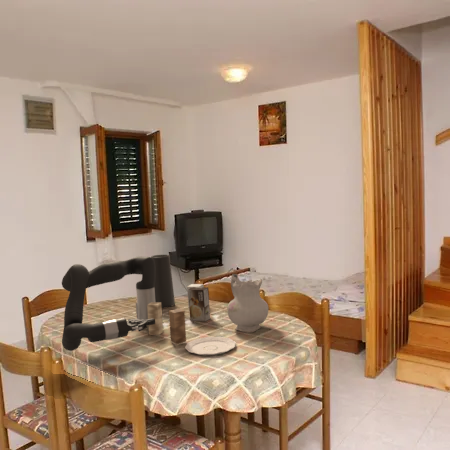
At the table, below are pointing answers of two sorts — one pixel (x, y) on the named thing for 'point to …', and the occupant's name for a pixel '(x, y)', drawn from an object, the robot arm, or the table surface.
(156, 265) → the vase
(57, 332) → the table surface
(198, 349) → the plate
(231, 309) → the ceramic pitcher
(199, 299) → the coffee box
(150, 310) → the birch block
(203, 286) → the supplement box
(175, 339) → the walnut block
